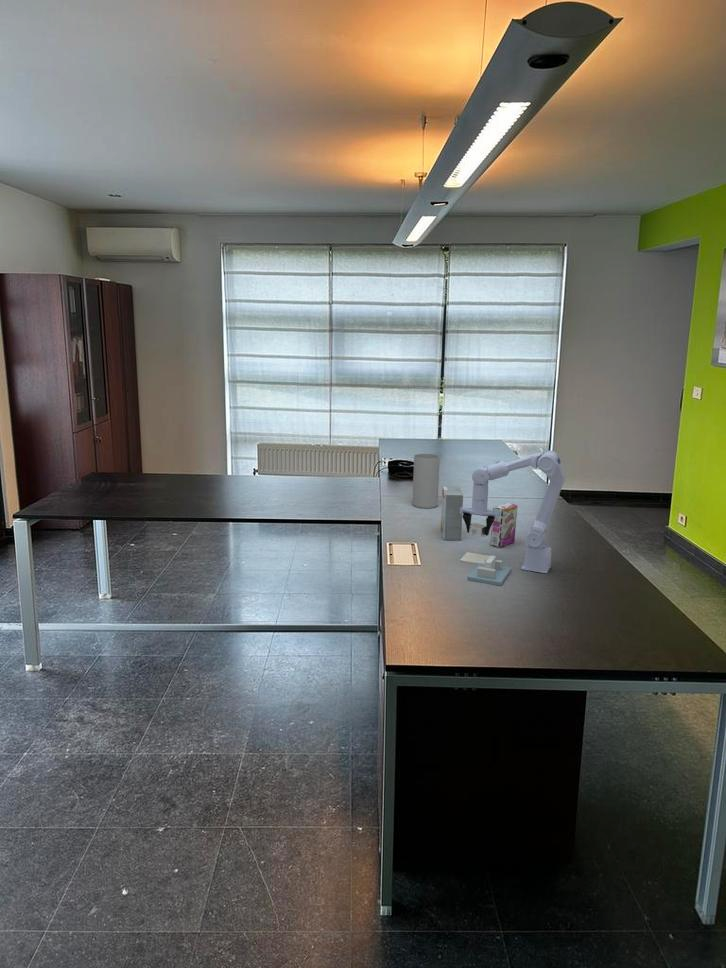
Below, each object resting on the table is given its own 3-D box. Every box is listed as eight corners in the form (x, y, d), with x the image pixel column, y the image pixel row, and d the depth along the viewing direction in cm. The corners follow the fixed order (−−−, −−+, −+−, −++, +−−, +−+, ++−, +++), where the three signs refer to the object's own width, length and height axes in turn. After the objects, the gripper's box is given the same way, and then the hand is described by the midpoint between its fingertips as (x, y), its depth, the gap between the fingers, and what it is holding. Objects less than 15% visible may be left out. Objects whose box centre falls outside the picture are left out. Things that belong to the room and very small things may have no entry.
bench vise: (511, 571, 248) (512, 555, 247) (500, 585, 234) (502, 568, 233) (479, 565, 253) (479, 550, 252) (467, 580, 239) (468, 563, 237)
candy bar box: (500, 548, 273) (502, 509, 270) (489, 545, 277) (492, 507, 273) (515, 542, 281) (518, 504, 277) (505, 539, 284) (507, 502, 281)
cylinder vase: (431, 501, 344) (433, 453, 339) (441, 507, 333) (443, 458, 327) (408, 503, 340) (410, 454, 335) (418, 509, 329) (420, 459, 323)
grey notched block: (486, 535, 257) (487, 526, 257) (481, 537, 255) (481, 528, 254) (474, 532, 261) (475, 523, 260) (468, 534, 258) (469, 525, 257)
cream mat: (492, 557, 263) (492, 556, 263) (485, 565, 254) (485, 564, 254) (467, 553, 267) (467, 552, 267) (459, 560, 258) (459, 559, 258)
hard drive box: (440, 529, 298) (442, 485, 293) (457, 529, 297) (459, 485, 293) (443, 540, 282) (445, 494, 278) (461, 540, 282) (464, 494, 278)
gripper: (501, 499, 255) (499, 533, 258) (464, 494, 261) (462, 528, 264) (497, 503, 249) (494, 538, 252) (459, 498, 255) (457, 533, 258)
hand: (477, 533), depth 258 cm, fingers closed on grey notched block, 7 cm apart
